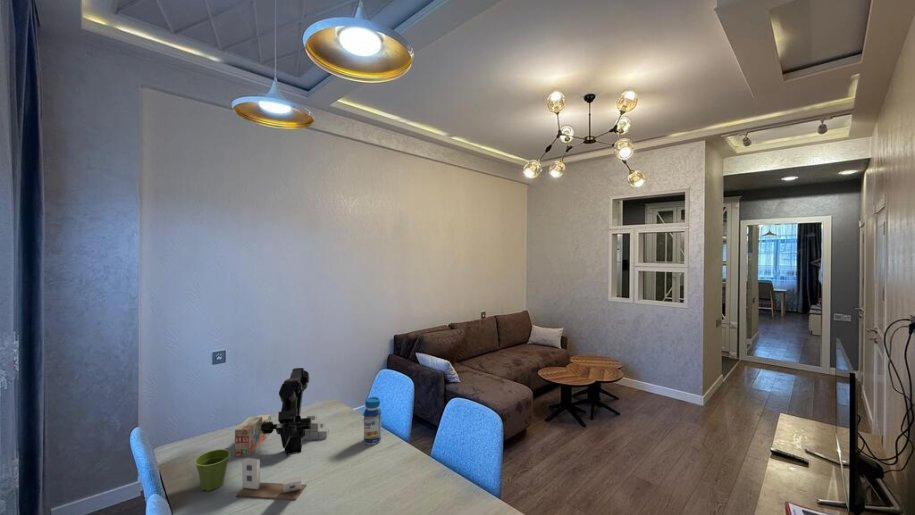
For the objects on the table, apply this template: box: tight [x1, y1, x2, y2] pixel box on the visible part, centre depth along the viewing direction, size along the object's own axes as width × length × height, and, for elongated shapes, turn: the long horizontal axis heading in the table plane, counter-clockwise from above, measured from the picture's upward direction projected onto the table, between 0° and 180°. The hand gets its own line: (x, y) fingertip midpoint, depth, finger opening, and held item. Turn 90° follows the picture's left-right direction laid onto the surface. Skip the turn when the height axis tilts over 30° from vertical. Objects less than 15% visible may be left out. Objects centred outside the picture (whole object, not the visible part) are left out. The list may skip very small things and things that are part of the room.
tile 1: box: [282, 475, 302, 493], centre depth 139 cm, size 2×6×11 cm
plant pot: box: [193, 448, 232, 492], centre depth 146 cm, size 12×12×11 cm
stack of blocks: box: [234, 414, 272, 457], centre depth 178 cm, size 21×6×12 cm, turn 2°
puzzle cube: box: [301, 412, 330, 441], centre depth 188 cm, size 12×12×8 cm
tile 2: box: [241, 457, 261, 489], centre depth 143 cm, size 2×6×11 cm, turn 83°
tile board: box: [235, 482, 307, 501], centre depth 143 cm, size 8×23×1 cm, turn 86°
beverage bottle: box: [363, 396, 383, 445], centre depth 181 cm, size 8×8×20 cm
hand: (284, 447), depth 150 cm, fingers closed
